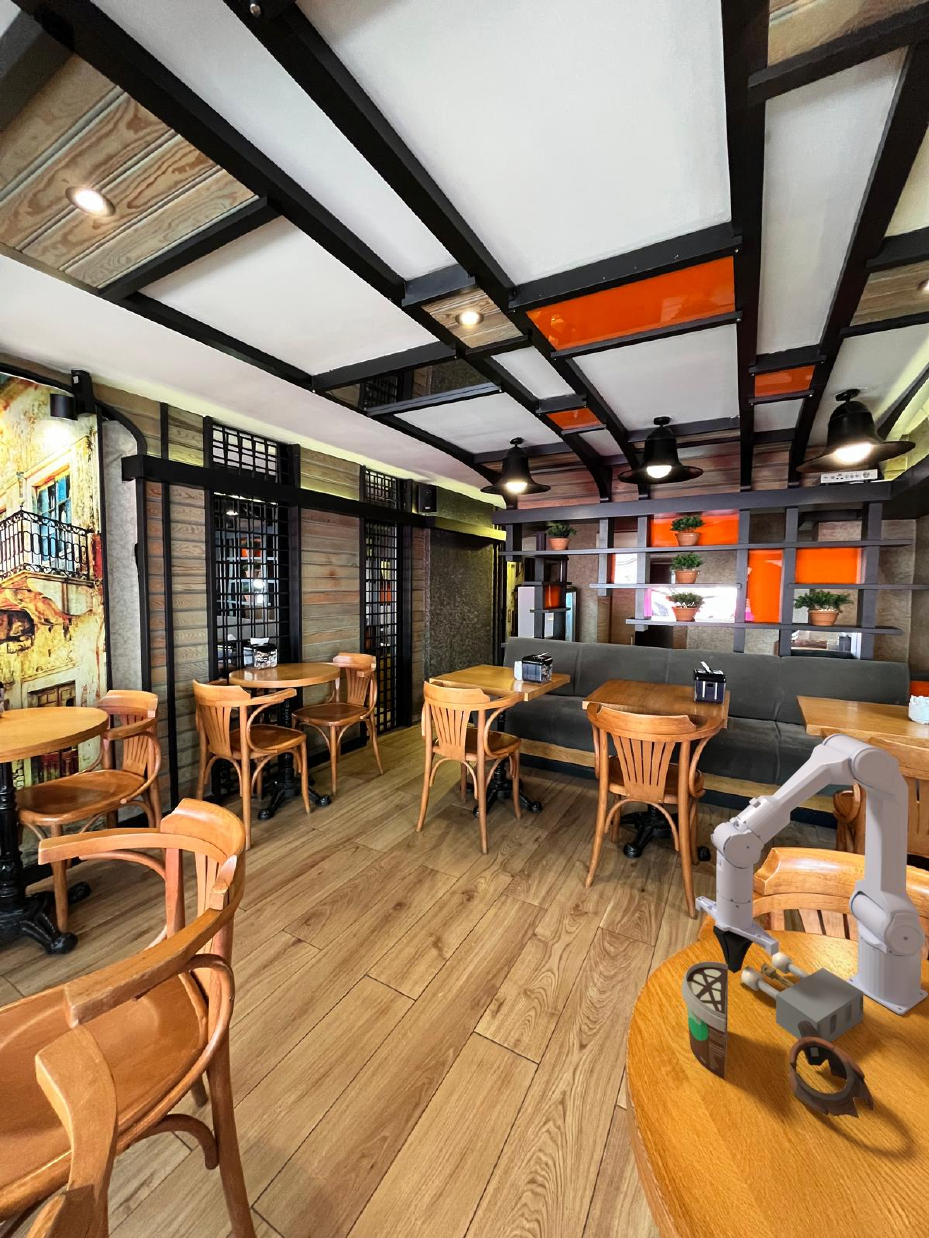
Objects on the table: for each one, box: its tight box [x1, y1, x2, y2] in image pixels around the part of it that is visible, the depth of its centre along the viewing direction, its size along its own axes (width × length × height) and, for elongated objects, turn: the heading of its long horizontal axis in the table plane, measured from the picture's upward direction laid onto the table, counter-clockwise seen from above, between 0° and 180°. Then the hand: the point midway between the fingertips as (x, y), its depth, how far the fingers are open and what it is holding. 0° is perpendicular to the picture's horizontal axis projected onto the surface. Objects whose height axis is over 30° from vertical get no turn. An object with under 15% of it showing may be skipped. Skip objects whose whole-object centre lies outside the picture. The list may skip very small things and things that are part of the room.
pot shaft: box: [760, 962, 795, 988], centre depth 85 cm, size 2×7×2 cm, turn 26°
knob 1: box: [741, 965, 781, 1001], centre depth 83 cm, size 3×7×3 cm, turn 26°
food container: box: [681, 960, 729, 1080], centre depth 76 cm, size 12×6×10 cm, turn 150°
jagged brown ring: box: [788, 1020, 875, 1119], centre depth 69 cm, size 12×10×8 cm
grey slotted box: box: [775, 967, 864, 1044], centre depth 80 cm, size 13×6×5 cm, turn 116°
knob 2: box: [771, 951, 810, 981], centre depth 87 cm, size 3×7×3 cm, turn 26°
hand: (734, 968), depth 89 cm, fingers closed
